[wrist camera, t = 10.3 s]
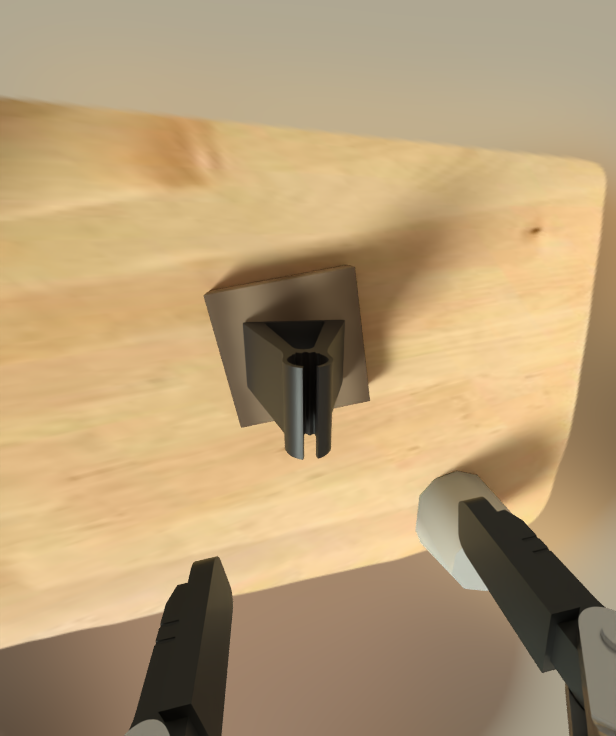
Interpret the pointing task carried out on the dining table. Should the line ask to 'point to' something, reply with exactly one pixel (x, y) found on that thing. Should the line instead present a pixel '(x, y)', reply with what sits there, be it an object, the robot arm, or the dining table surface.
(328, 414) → the phone stand
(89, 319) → the dining table surface
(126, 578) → the dining table surface
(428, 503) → the toilet tissue
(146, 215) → the dining table surface
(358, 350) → the walnut block
